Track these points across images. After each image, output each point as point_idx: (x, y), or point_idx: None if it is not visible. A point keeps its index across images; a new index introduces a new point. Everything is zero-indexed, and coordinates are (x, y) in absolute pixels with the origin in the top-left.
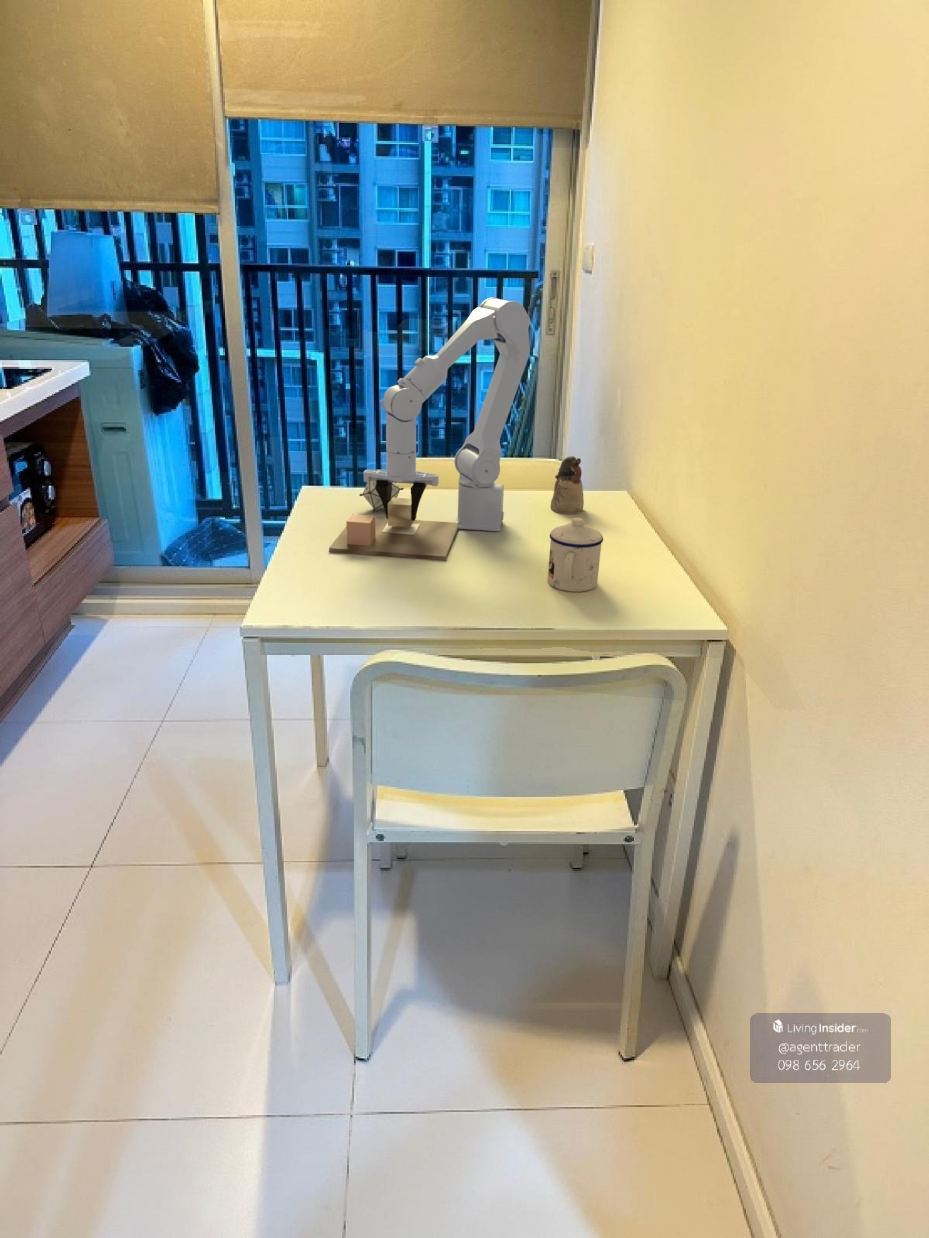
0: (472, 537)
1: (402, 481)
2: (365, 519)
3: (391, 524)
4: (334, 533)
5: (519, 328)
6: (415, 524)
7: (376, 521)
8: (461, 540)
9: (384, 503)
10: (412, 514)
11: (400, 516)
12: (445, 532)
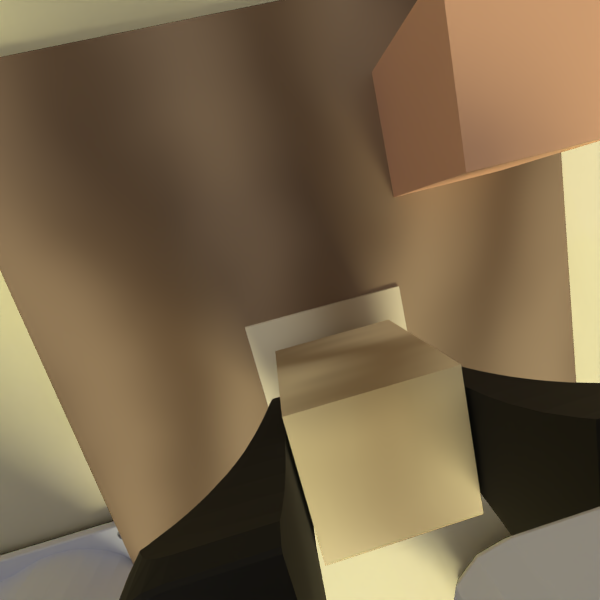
0: (12, 460)
1: (458, 590)
2: (502, 46)
3: (374, 327)
4: (584, 227)
5: None
6: None
7: None
8: (36, 401)
9: (489, 378)
10: (278, 408)
11: (339, 358)
12: (123, 424)
